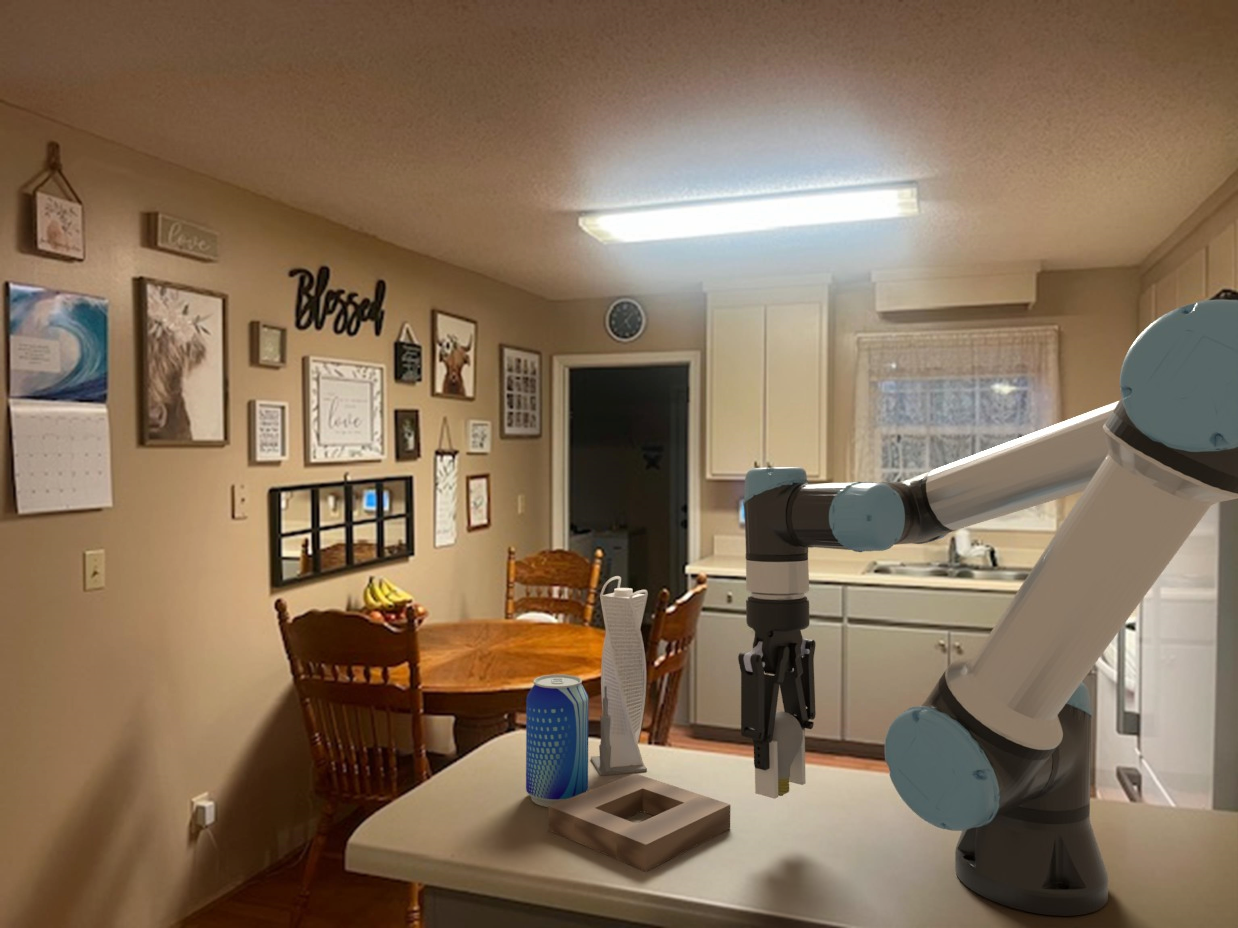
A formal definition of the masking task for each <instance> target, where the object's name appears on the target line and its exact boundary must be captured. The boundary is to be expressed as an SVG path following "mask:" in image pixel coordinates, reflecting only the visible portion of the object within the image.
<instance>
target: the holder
mask: <svg viewBox="0 0 1238 928" xmlns="http://www.w3.org/2000/svg"><path fill="white" fill-rule="evenodd" d="M643 812H644V813H646V814H649V815H652V817H650V818H647V819H645V820H643V821H640V822H638V823H635V822H633V821H629V820H627V819H628V818H631V817H632V816H635V815H637V814H640V813H643ZM730 829H731V804H730V803H727V802H724V801H722V800H718V799H714V798H711V797H709V796H706V795H703V794H699V793H697V792H693V791H690V790H687V789H684V788H682V787H678V786H676V785H673V784H669V783H666V782H663V781H660V780H657V779H654V778H650V777H648V776H644V775H641V774H638V773H637V772H635V773H630V774H628V775H627V776H623V777H621V778H617V779H615V780H613V781H609V782H608V783H605V784H603V785H600V786H598V787H595V788H592V789H590V790H589V789H588V790H587V792H584V793H582V794H579V795H576V796H574V797H571V798H568V799H566V800H563V801H561V802H558V803H555V804H553V805H550V806H549V807H548V831H549V832H552V833H554V834H557V835H558V836H561V837H563V838H566V839H568V840H571V841H573V842H575V843H578V844H580V845H583V846H585V847H587V848H590V849H592V850H594V851H597V852H599V853H601V854H603V855H606V856H609V857H611V858H613V859H614V860H615V859H616V860H618V861H620V862H622V863H625V864H627V865H629V866H632V867H634V868H636V869H639V870H642V871H643V872H648V871H650V870H651V869H654V868H656V867H658V866H660V865H661V864H663V863H665V862H667V861H670V860H672V859H673V858H675V857H677V856H679V855H681V854H683V853H685V852H687V851H689V850H691V849H693V848H694V847H697V846H699V845H700V844H703V843H705V842H707V841H709V840H710V839H712V838H715V837H716V836H718V835H720V834H722V833H725V832H726V831H729V830H730Z"/></svg>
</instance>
